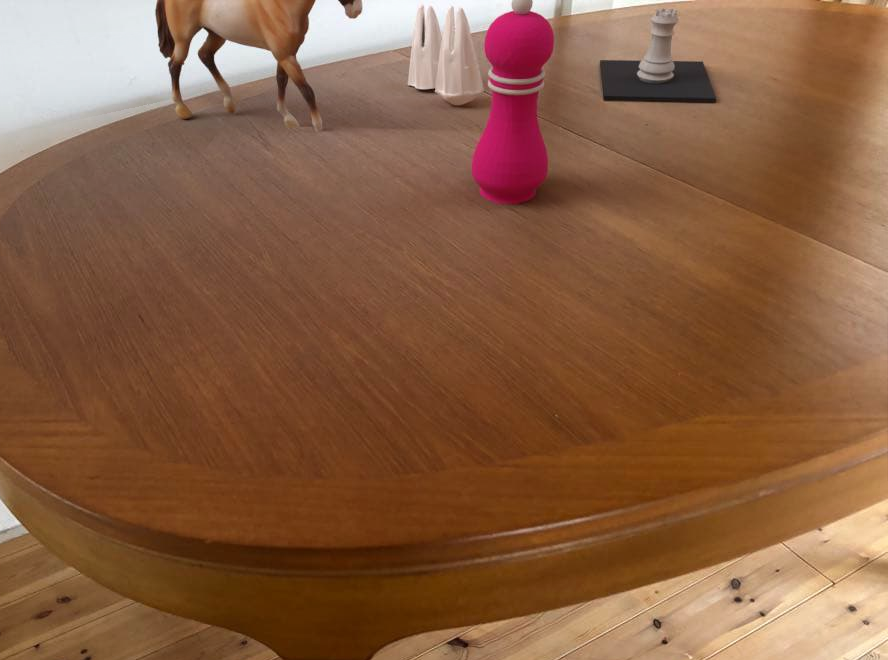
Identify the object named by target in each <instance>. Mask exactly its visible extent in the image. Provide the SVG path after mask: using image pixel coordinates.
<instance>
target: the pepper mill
mask: <svg viewBox="0 0 888 660" xmlns="http://www.w3.org/2000/svg"><path fill="white" fill-rule="evenodd" d="M533 3H534V2H533V0H511V5H510V6H511V9H512V10H511V11H507V12H505V13H503V14H501V15H499V16H498V17H496V18H495V19H494V20H493V21H492V22H491V23H490V25H489V27H488V28H487V30H486V34H485V38H484V45H483V46H484V48H483V49H484V54H485V55H484V56H485V58H486V59H487V61H488V62H489V63H490V65H491V66H492V67H490V68H489V70H488V80H487V86H488V88H489V89H490V90H491V104H490V112H489V116H488V120H487V122H486V125H485V127H484V129H483V132H482V134H481V136H480V138H479V139H478V142H477V144H476V146H475V149H474V152H473V155H472V158H471V167H470V168H471V169H470V171H471V175H472V178H473V180H474V181H475V183H476V184H477V185H478V186H479V194H480V195H481V197H483V198H484V199H485V200H487V201H490V202H493V203H498V204H504V205H508V204H510V205H512V204H520V203H524V202H527V201H529V200H531V199H533V198H534V197H536V194H537V190H536V189H538V187H540V186H541V185H542V184H543V182H544V181H545V179H546V178H547V176H548V173H549V171H548V170H549V157H548V151H547V146H546V144H545V141H544V138H543V135H542V131H541V128H540V127H541V126H540V124H539V117H538V98H539V92H540V91H541V90H543V89H544V86H545V79H544V78H545V76H546V70H545V69H544V68H543V67H544V66H545V64H547V62H549V60H550V59H551V56H552V55H553V52H554V46H555V36H554V31H553V27H552V25H551V23H550V21H549V20H548V19H546V18H545V17H544V16H543V15H542V14H540V13H537V12H535V11H532V8H533Z"/></svg>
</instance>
